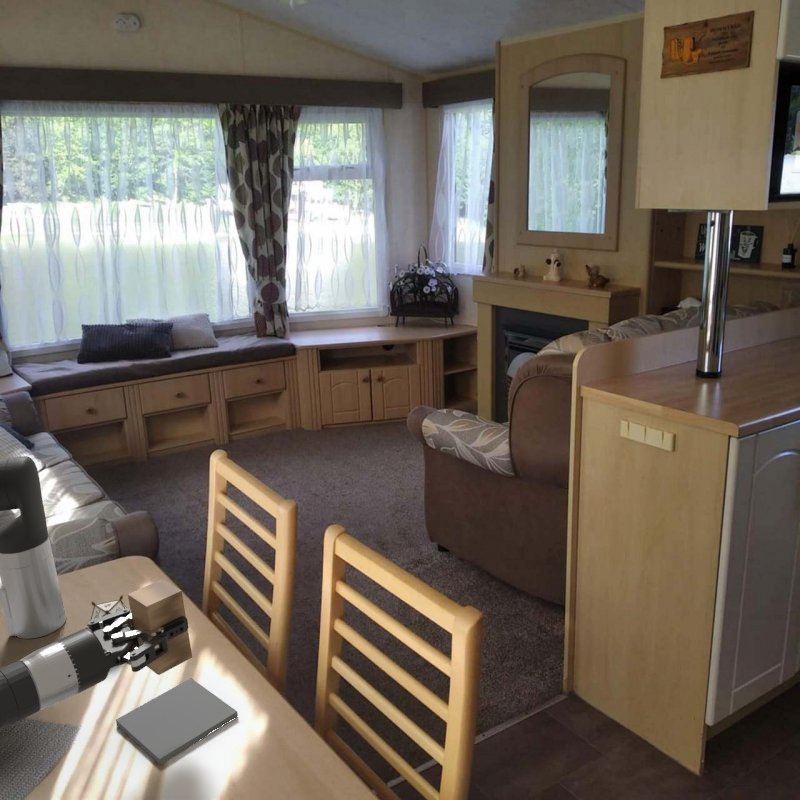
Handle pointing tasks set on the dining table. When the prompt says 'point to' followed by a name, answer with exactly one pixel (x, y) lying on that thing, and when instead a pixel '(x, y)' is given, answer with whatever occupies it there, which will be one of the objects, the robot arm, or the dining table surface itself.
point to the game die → (107, 609)
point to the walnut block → (161, 620)
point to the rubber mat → (175, 720)
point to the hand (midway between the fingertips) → (175, 615)
